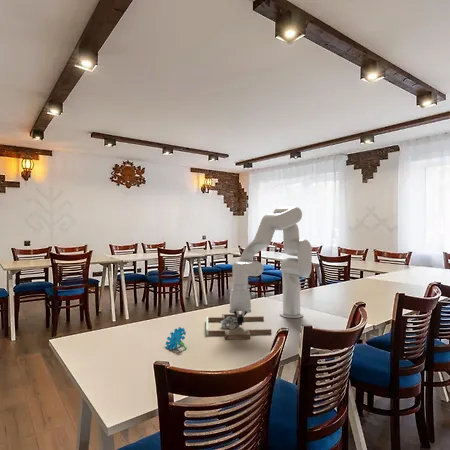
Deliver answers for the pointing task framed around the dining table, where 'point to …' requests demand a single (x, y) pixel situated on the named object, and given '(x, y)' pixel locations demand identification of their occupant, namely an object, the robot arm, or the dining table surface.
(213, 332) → the trap box
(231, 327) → the grey rock
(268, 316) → the dining table surface
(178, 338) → the blue flower
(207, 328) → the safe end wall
